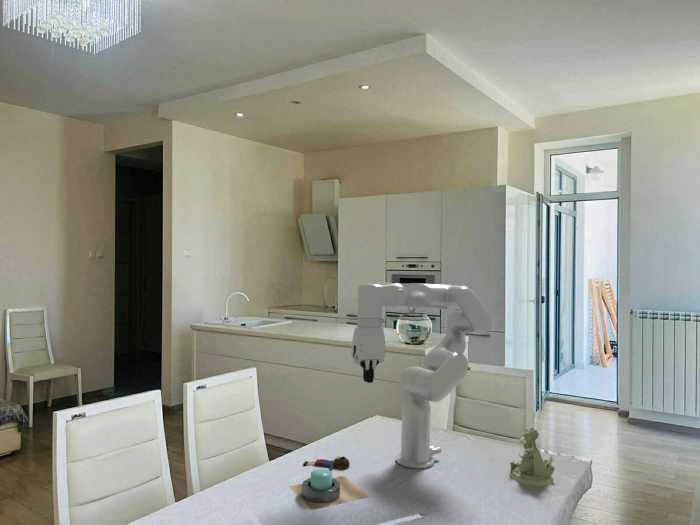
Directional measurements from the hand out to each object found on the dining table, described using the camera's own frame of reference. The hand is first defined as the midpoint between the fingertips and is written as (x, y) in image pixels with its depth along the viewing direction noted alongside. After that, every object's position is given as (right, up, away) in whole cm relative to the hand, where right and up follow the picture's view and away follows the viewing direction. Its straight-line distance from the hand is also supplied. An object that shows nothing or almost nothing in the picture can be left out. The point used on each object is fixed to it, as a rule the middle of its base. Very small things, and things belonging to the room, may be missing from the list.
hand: (368, 381), depth 166 cm
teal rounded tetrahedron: (-14, -28, -17) cm, 36 cm away
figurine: (+51, -31, 0) cm, 60 cm away
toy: (-13, -29, +5) cm, 33 cm away
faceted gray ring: (-14, -28, -17) cm, 36 cm away
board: (-12, -29, -15) cm, 35 cm away
